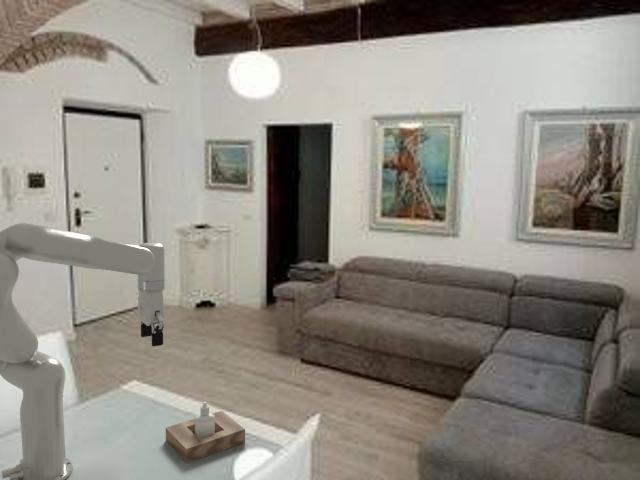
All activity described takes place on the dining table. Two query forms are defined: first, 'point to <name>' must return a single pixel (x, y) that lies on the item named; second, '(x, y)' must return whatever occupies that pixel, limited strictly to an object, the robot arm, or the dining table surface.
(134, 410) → the dining table surface
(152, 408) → the dining table surface
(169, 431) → the socket block
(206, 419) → the eye dropper bottle
